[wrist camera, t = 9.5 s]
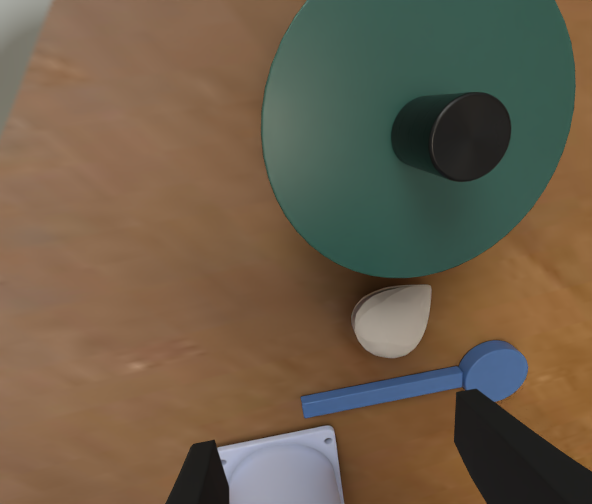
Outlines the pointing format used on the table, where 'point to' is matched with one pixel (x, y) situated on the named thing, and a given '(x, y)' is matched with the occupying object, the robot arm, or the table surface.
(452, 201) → the saucepan lid
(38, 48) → the table surface
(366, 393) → the blue spoon
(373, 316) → the cream teardrop shape
